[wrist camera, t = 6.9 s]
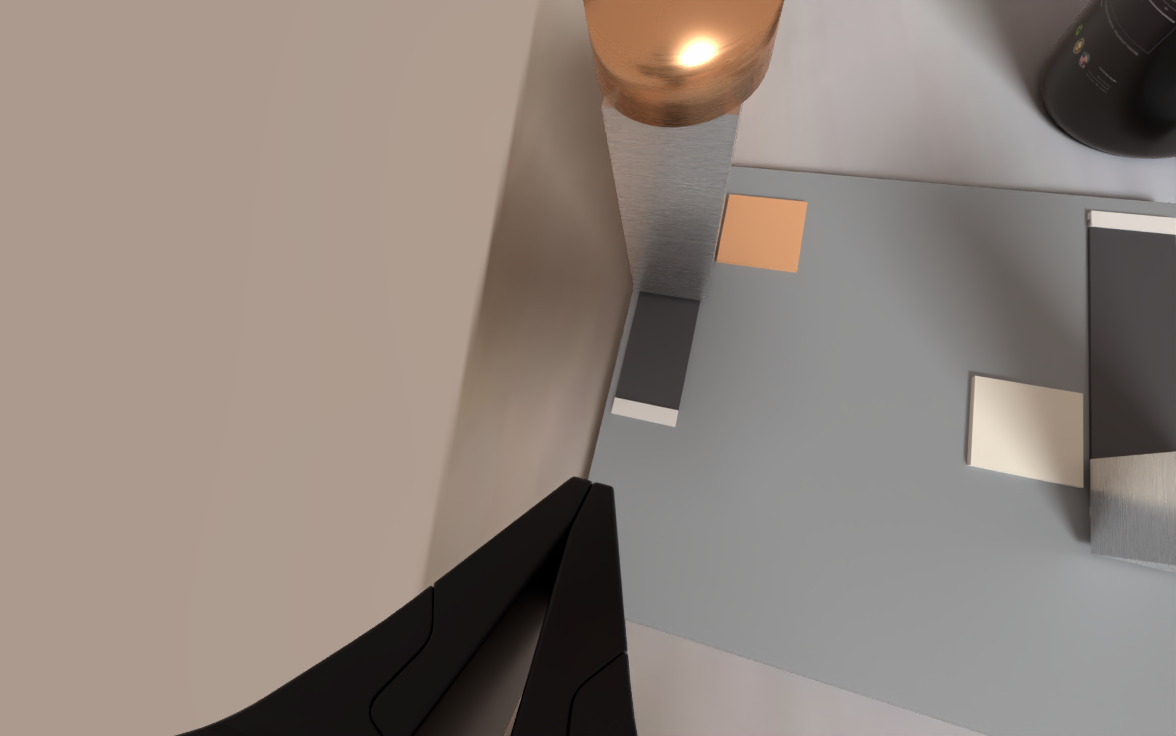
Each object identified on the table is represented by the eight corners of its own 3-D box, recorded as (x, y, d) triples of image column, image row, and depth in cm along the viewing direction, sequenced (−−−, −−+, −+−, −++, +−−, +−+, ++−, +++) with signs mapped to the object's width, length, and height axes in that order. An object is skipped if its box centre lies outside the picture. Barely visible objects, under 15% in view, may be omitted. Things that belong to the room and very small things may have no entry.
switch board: (1192, 794, 12) (1226, 813, 12) (563, 595, 16) (558, 599, 16) (1163, 214, 16) (1187, 200, 16) (664, 169, 20) (663, 157, 20)
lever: (714, 312, 17) (774, 58, 7) (622, 298, 18) (561, 50, 8) (730, 229, 18) (804, -105, 8) (641, 218, 19) (607, -96, 9)
